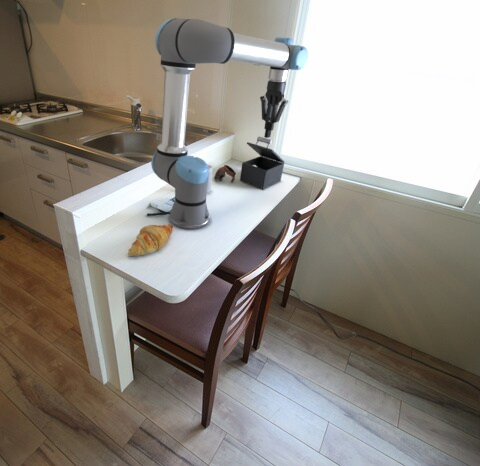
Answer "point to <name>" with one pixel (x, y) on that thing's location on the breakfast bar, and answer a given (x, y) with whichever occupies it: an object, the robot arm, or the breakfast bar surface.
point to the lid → (265, 149)
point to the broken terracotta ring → (223, 171)
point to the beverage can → (209, 178)
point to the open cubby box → (261, 172)
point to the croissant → (150, 239)
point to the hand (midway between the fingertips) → (267, 137)
